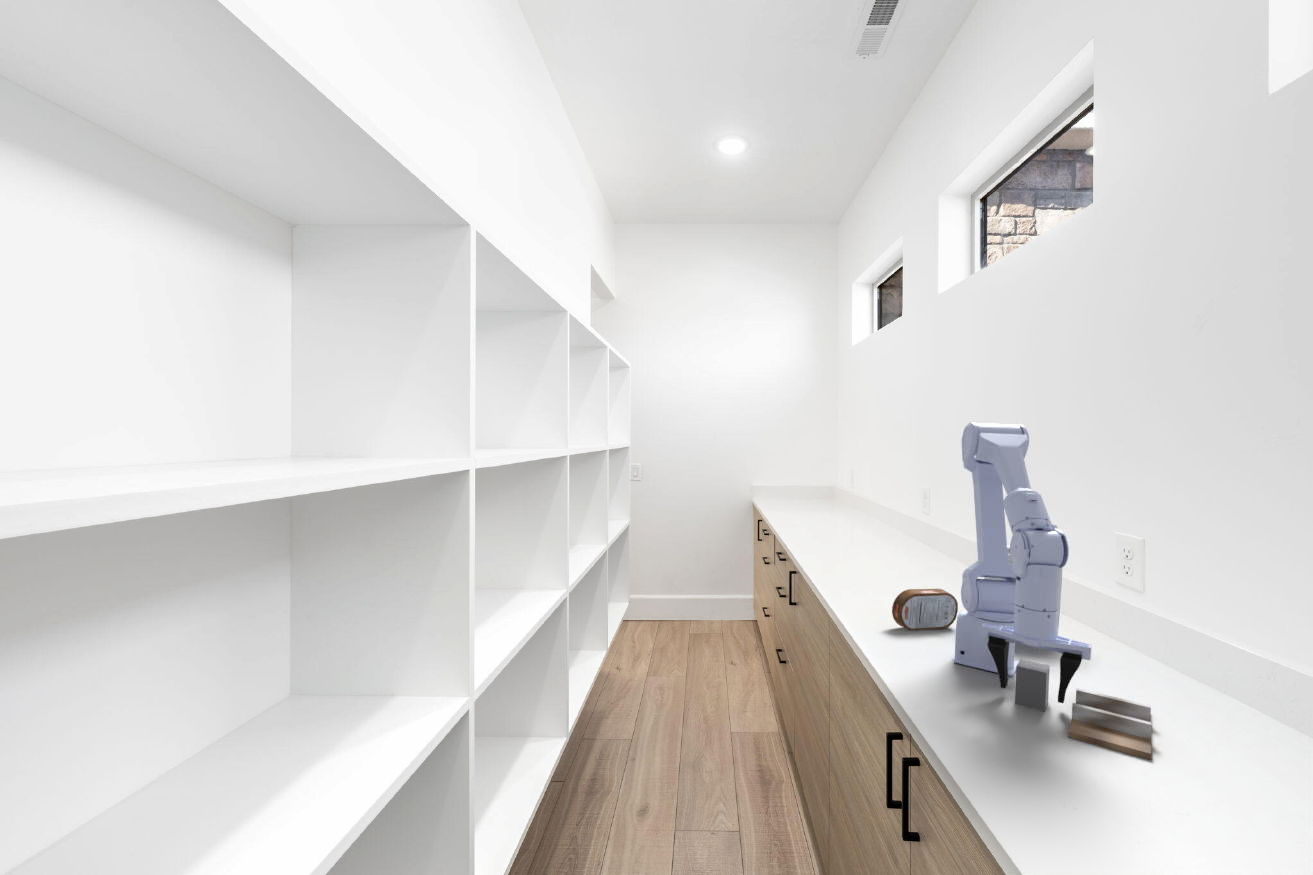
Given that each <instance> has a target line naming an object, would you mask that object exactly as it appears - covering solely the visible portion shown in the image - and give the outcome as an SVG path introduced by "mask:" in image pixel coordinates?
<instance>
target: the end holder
mask: <svg viewBox="0 0 1313 875" xmlns="http://www.w3.org/2000/svg"><path fill="white" fill-rule="evenodd" d="M1075 690H1076V691H1075V702H1072V704H1071V705H1072V706H1071V720H1070V724H1069V728H1068V733H1067V734H1068V736H1067V737H1068V738H1071V739H1074V740H1078V741H1081V742H1082V741H1083V742H1086V743H1089V744H1093V745H1096V746H1099V747H1103V748H1107V749H1110V750H1115V751H1118V752H1121V753H1125V754H1129V755H1132V756H1137V757H1139V758H1143V759H1146V760H1150V761H1152V726H1153V725H1152V721H1151V717H1152V716H1151V712H1152V711H1151V710H1152V705H1151V704H1146V703H1142V702H1137V701H1132V700H1129V699H1125V698H1121V697H1116V696H1113V695H1109V694H1103V693H1100V692H1095V691H1091V690H1086V689H1083V688H1078V687H1077V688H1076V689H1075Z"/></svg>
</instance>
